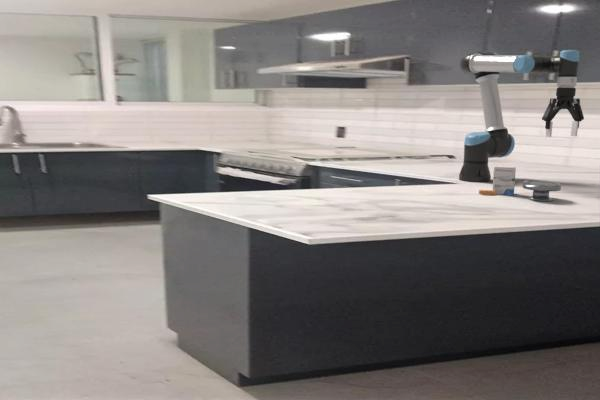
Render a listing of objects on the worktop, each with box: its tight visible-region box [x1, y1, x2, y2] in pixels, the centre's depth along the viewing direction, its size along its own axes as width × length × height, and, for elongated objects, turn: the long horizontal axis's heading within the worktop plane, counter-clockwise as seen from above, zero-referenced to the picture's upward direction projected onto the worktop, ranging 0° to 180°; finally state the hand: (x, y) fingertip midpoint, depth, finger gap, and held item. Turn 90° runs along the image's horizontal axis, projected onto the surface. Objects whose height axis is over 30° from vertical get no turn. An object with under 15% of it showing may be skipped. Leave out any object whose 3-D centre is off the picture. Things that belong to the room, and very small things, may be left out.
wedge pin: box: [478, 189, 495, 196], centre depth 228 cm, size 6×2×2 cm, turn 78°
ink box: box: [492, 165, 517, 196], centre depth 228 cm, size 8×5×12 cm, turn 65°
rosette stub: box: [522, 179, 562, 202], centre depth 216 cm, size 14×14×7 cm
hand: (561, 136), depth 235 cm, fingers open, 13 cm apart
